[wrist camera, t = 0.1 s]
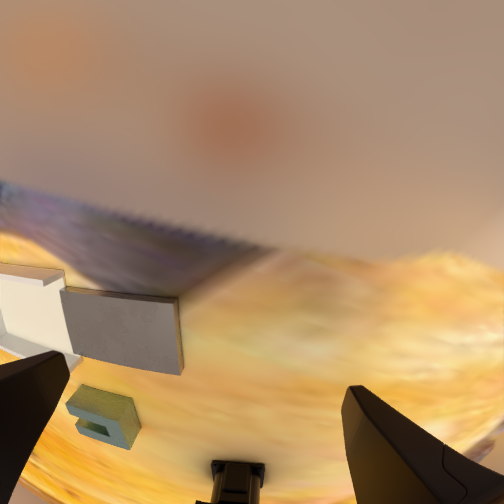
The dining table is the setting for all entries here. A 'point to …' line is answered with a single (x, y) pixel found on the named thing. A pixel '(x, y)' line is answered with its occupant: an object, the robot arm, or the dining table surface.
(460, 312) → the dining table surface
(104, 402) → the clip
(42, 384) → the robot arm
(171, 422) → the dining table surface
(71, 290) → the panel
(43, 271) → the well tray
